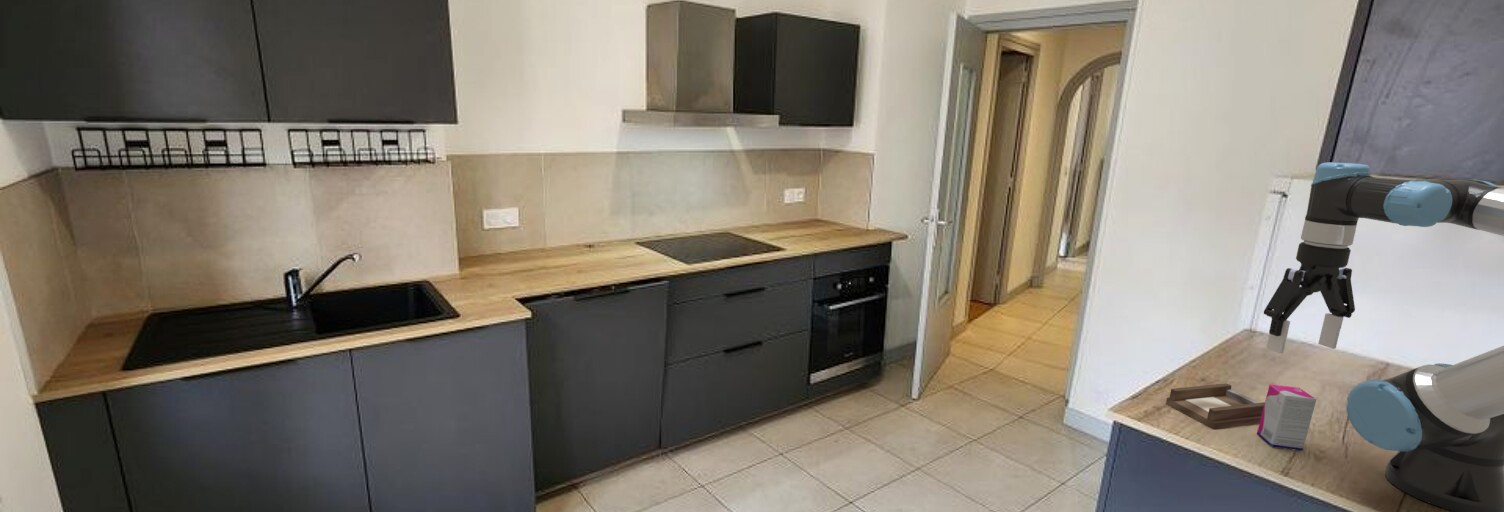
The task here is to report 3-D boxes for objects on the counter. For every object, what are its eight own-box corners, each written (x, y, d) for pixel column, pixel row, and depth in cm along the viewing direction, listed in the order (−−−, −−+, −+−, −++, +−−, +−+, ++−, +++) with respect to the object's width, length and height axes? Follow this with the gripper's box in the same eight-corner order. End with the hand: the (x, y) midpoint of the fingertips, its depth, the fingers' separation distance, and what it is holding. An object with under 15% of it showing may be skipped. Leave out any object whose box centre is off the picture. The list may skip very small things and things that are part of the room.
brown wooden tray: (1271, 422, 141) (1275, 405, 140) (1213, 429, 137) (1217, 412, 136) (1221, 397, 152) (1224, 382, 151) (1165, 403, 148) (1169, 387, 147)
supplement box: (1304, 451, 129) (1317, 399, 126) (1271, 447, 130) (1283, 395, 127) (1287, 436, 135) (1299, 386, 132) (1255, 433, 136) (1267, 383, 133)
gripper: (1351, 238, 129) (1327, 338, 134) (1255, 241, 123) (1233, 345, 128) (1395, 246, 122) (1369, 351, 127) (1295, 250, 116) (1271, 359, 121)
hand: (1301, 348), depth 128 cm, fingers open, 13 cm apart
